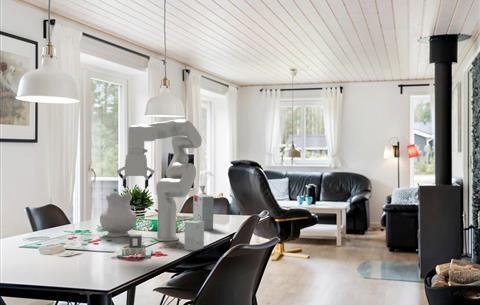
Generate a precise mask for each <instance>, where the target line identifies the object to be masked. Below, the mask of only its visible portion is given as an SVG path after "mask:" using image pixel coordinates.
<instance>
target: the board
mask: <svg viewBox="0 0 480 305" xmlns="http://www.w3.org/2000/svg"><path fill="white" fill-rule="evenodd" d="M152 253H153V248H146V244H142V248H129V244H126V247H124V248H120V250H119V251H118V253H117V254H116V259H119V258H118V257H123V256H129V255H135V254H136V255H138V254H142V255H143V256H144V257H145V258H144V259H150V258H151V257H152Z"/></svg>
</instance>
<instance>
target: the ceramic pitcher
mask: <svg viewBox="0 0 480 305" xmlns="http://www.w3.org/2000/svg"><path fill="white" fill-rule="evenodd" d="M105 198H106V199H105V200H106V201H107V208H106V209H105V210H104V211H102V213H101V214H100V217H99V223H100V226H101V228H102V229H103V230H104V231H106V232H107V234H106V236H107V237H109V238H120V237H126V236H127V237H128V236H130V234H129V232H130V231H131V230H133V229H134V227H135V226H136V223H137V220H138V216H137V213H136V212H134V211H133V210H132V209H131V206H130V204H131V200H132V198H133V195H132V194H131V193H130V192H126V193H125V194H124V195H120V193H119V190H118V189H117V188H113V192H110V194H109V195H108V194H107V195H105Z"/></svg>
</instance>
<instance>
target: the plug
mask: <svg viewBox="0 0 480 305" xmlns="http://www.w3.org/2000/svg"><path fill="white" fill-rule="evenodd" d="M128 236H129V238H128V239H129V241H128V245H129V248H142V245H143V243H142V241H143V235H142V234H129V235H128Z"/></svg>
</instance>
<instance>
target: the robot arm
mask: <svg viewBox="0 0 480 305" xmlns="http://www.w3.org/2000/svg"><path fill="white" fill-rule="evenodd" d="M167 138H171V146H172V148H173V155H172V159H171V161H170V163H169V165H168V167H167V169H166V172H165V173H166V174H165V176H166V178H161V179H159V180H157V182H156V186H155V187H156V188H155V190H156V195H157V226H156V227H157V234H156V236H153V239H154V240H155V241H159V242H175V241H177V240H179V239H180V237H179V236H177V234H176V233H177V203H176V200H175V199H174V198H177V199H178V198H185V197H187V196H188V195H189V193H190V191H191V188H192V186H193V184H194V182H195V179H196V176H197V168H196V166H195V165H194V164H193V163H191V162H190V163H189V160H190V158H189V155H188V153H187V152H186V149H199V148H200V147H201V145H202V143H203V142H202V140H203V139H202V136H201V134H200V132H199V131H198V130H197V128H196V126H195V125H193V123H192V122H191V121H190V120H188V119H172V120H167V121H166V120H165V121H160V122H159V121H158V122H153V123H152V122H151V123H146V124H145V123H144V124H138V125H129V126H128V132H127V141H128V142H127V154H126V156H125V163H124V166H123V167H121V168H118V169H117V172H116V173H117V174H118V176H119V177H120V178H121V180H122V187H123V189H127V178H128V177H144V178H145V180H144V189H147V188H148V187H149V180H150V179H151V178H152V177H153V175H154V173H155V172H156V171H155V170H154V169H152V168H150V167H148V162H147V161H148V160H147V155H146V154H145V153H148V149H145V142H146V143H147V142H149V143H150V142H154V141H156V140H162V139H163V140H164V139H167ZM122 171H124V175H123V174H122ZM148 172H150V174H149V175H148V174H147V173H148Z"/></svg>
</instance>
